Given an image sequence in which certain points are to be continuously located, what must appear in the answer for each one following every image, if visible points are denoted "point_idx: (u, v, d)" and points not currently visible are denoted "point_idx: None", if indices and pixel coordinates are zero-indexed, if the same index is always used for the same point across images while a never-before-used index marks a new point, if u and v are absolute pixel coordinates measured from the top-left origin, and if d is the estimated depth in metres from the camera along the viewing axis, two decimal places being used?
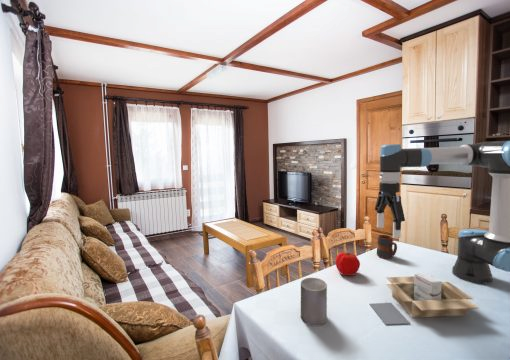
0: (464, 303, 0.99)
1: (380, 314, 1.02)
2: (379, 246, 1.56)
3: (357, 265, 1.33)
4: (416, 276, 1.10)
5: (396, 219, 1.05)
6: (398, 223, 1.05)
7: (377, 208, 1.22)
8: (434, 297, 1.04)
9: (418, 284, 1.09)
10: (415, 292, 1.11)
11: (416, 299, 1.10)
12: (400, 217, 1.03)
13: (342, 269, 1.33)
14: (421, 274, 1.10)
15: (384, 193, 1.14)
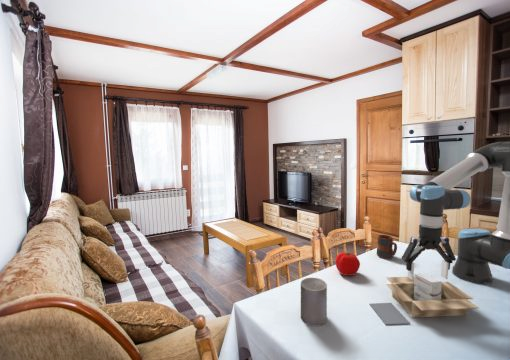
0: (464, 303, 0.99)
1: (380, 314, 1.02)
2: (379, 246, 1.56)
3: (357, 265, 1.33)
4: (416, 276, 1.10)
5: None
6: (406, 263, 1.07)
7: (449, 256, 1.07)
8: (434, 297, 1.04)
9: (418, 284, 1.09)
10: (415, 292, 1.11)
11: (416, 299, 1.10)
12: (403, 256, 1.06)
13: (342, 269, 1.33)
14: (421, 274, 1.10)
15: None
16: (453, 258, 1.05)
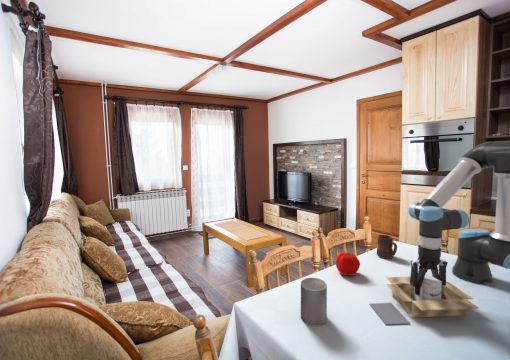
0: (464, 303, 0.99)
1: (380, 314, 1.02)
2: (379, 246, 1.56)
3: (357, 265, 1.33)
4: None
5: None
6: (415, 287, 1.08)
7: (440, 280, 1.08)
8: (434, 297, 1.04)
9: None
10: None
11: None
12: (411, 281, 1.08)
13: (342, 269, 1.33)
14: None
15: None
16: (444, 283, 1.06)
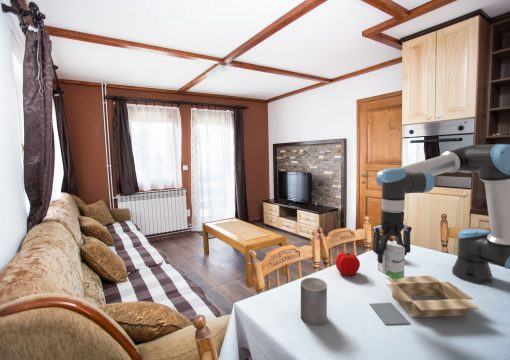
0: (464, 303, 0.99)
1: (380, 314, 1.02)
2: None
3: (357, 265, 1.33)
4: None
5: None
6: (378, 255, 1.01)
7: None
8: (397, 264, 0.97)
9: None
10: None
11: None
12: (373, 248, 1.01)
13: (342, 269, 1.33)
14: None
15: None
16: (408, 249, 1.00)
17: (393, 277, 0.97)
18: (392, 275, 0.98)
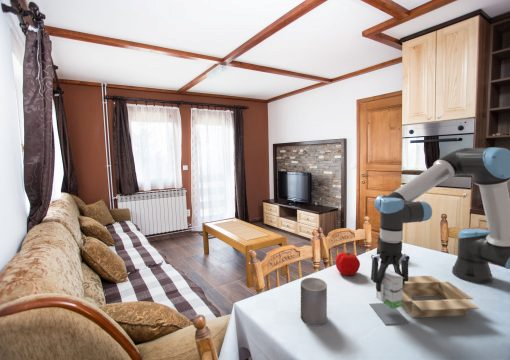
0: (464, 303, 0.99)
1: (380, 314, 1.02)
2: None
3: (357, 265, 1.33)
4: None
5: None
6: (376, 283, 1.02)
7: (402, 276, 1.03)
8: (395, 293, 0.98)
9: None
10: None
11: None
12: (372, 277, 1.02)
13: (342, 269, 1.33)
14: None
15: None
16: (406, 278, 1.01)
17: (391, 306, 0.99)
18: (390, 304, 0.99)
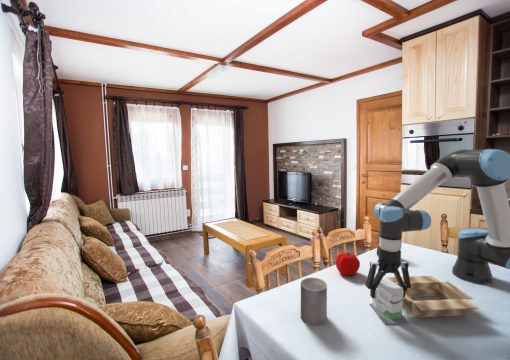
0: (464, 303, 0.99)
1: (380, 314, 1.02)
2: None
3: (357, 265, 1.33)
4: None
5: None
6: (370, 290, 1.03)
7: (405, 283, 1.03)
8: (395, 305, 0.99)
9: (380, 290, 1.04)
10: None
11: (378, 306, 1.05)
12: (367, 283, 1.02)
13: (342, 269, 1.33)
14: (383, 280, 1.05)
15: None
16: (408, 285, 1.01)
17: (391, 317, 0.99)
18: (390, 315, 0.99)
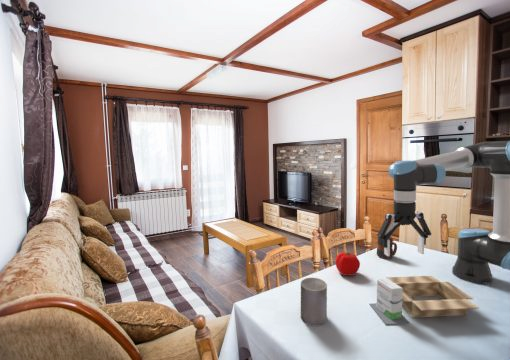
0: (464, 303, 0.99)
1: (380, 314, 1.02)
2: (379, 246, 1.56)
3: (357, 265, 1.33)
4: (378, 282, 1.05)
5: None
6: (382, 240, 1.06)
7: (425, 231, 1.06)
8: (395, 305, 0.99)
9: (380, 290, 1.04)
10: (377, 299, 1.06)
11: (378, 306, 1.05)
12: (379, 233, 1.05)
13: (342, 269, 1.33)
14: (383, 280, 1.05)
15: None
16: (428, 233, 1.05)
17: (391, 317, 0.99)
18: (390, 315, 0.99)
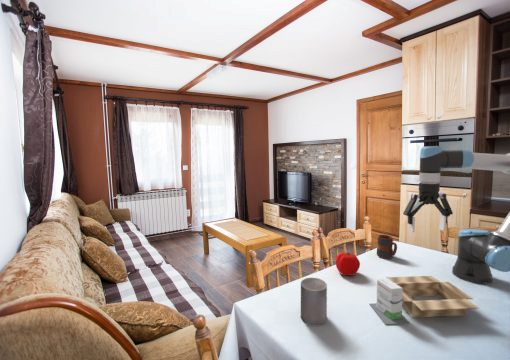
0: (464, 303, 0.99)
1: (380, 314, 1.02)
2: (379, 246, 1.56)
3: (357, 265, 1.33)
4: (378, 282, 1.05)
5: None
6: (408, 217, 1.17)
7: (446, 211, 1.18)
8: (395, 305, 0.99)
9: (380, 290, 1.04)
10: (377, 299, 1.06)
11: (378, 306, 1.05)
12: (405, 211, 1.17)
13: (342, 269, 1.33)
14: (383, 280, 1.05)
15: None
16: (450, 212, 1.16)
17: (391, 317, 0.99)
18: (390, 315, 0.99)
